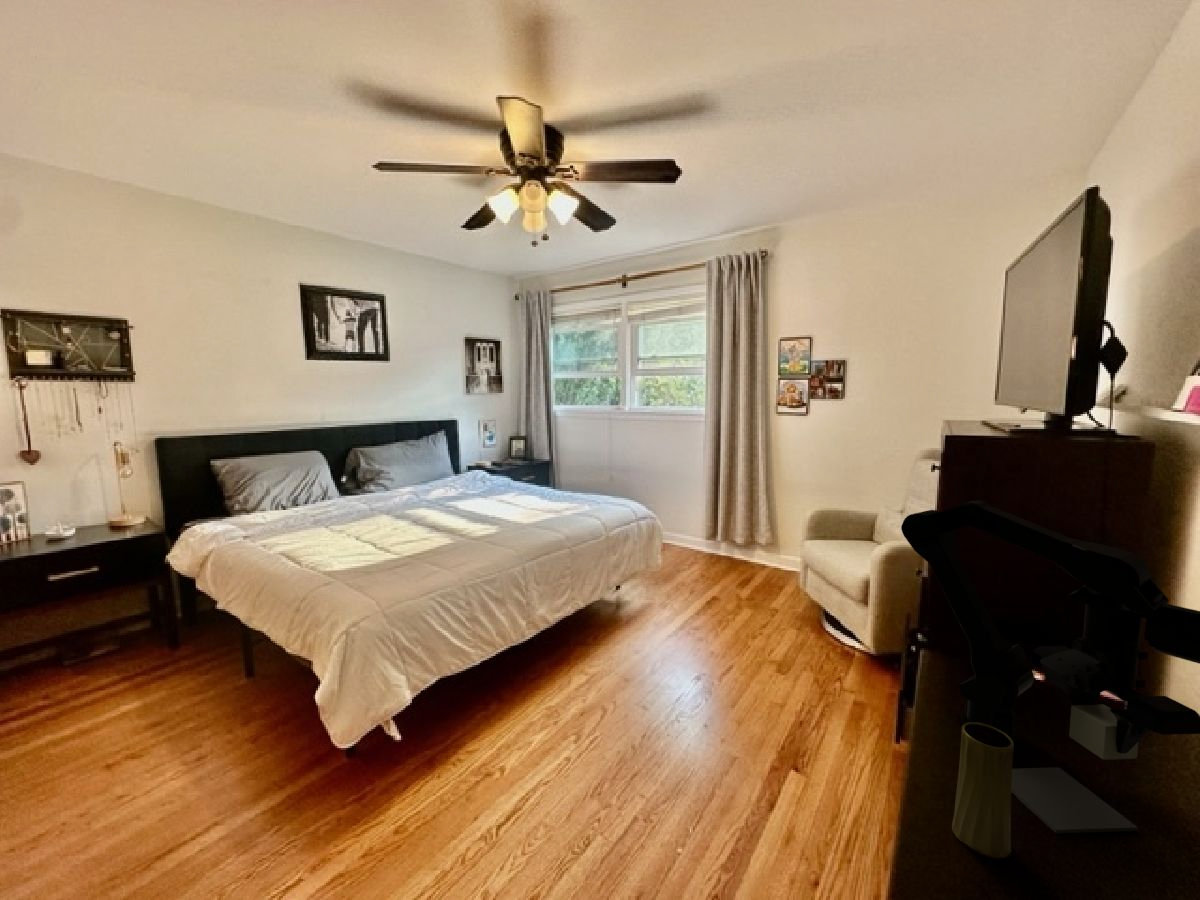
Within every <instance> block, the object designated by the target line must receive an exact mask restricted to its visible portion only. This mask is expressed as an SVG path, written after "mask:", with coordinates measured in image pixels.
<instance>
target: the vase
mask: <svg viewBox="0 0 1200 900" xmlns="http://www.w3.org/2000/svg"><path fill="white" fill-rule="evenodd" d="M1014 745H1015V742H1013V740H1012V739H1011V738H1010V737H1009V736H1008V735H1007V734H1006V733H1004V732H1002V731H1001V730H999V729H997V728H994V727H992V726H989V725H986V724H982V723H974V722H969V723H966V724H964V725H962V727H961V739H960V751H959V753H960V754H959V763H958V764H959V765H958V766H959V767H958V774H957V783H956V791H955V792H956V793H955V802H954V810H953V811H954V812H953V819H952V823H951V829H952V833H953V834H955V835H954V836H955V838H956V839H957V838H958V839H959V840H960V841H962V842H963V843H965V844H967V845H968V846H970V847H971V848H973V849H976V850H978V851H980V852H982V853H984V854H986V855H990V856H993V857H994V856H995V857H998V858H999V857H1001V858H1002V857H1007V856H1008V855H1009V854H1010V853H1011V854H1012V844H1011V843H1012V842H1011V841H1012V840H1011V835H1012V833H1011V832H1012V831H1011V829H1012V827H1011V826H1012V808H1011V807H1012V806H1011V805H1012V793H1011V787H1012V769H1013V758H1014V748H1015V747H1014ZM958 839H957V840H958ZM959 840H958V841H959ZM960 841H959V842H960ZM1011 854H1010V855H1011ZM1010 855H1009V856H1010ZM1009 856H1008V857H1009ZM1008 857H1007V858H1008Z"/></svg>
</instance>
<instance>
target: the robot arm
mask: <svg viewBox="0 0 1200 900" xmlns="http://www.w3.org/2000/svg"><path fill="white" fill-rule="evenodd" d="M902 521H903V522H902V524H901V533H902V535H903V537H904V538H905V540H906V541H907V543H908V544H909V546H911V548H912V549H913V550H914V552H915V553H916V554H918V555H919V556H920V557H921V558H922V559H924V560H925V561H926V562H927V563H928V565H929V566H930V568H931V570H932V572H933V575H934V576H935V578H936V579H937V581H938V583H939V586H940V588H941V590H942V592H943V594H944V595H945V597H946V599H947V601H948V603H949V606H950V608H951V609H952V611H953V614H954V615H955V617H956V619H957V621H958V623H959V625H960V627H961V629H962V630H963V633H964V634H965V636H966V639H967V640H968V642H969V647H970V648H969V649H970V663H971V667H972V670H973V673H974V675H973V676H971V677H969V678H967V679H966V680H964V681H963V682H961V683H960V684H959V685H958V687H959V691H960V694H961V696H962V698H964V699H965V702H964V703H965V707H964V715H962V716H960V715H959V716H956V717H955V719H956V721H957V722H958V723H960V725H962V726H963V725H964V724H966V723H969V722H974V723H982V724H986V725H989V726H992V727H994V728H997V729H999V730H1001V731H1002V732H1004V733H1006V734H1007V735H1008V736H1009V737H1010V738H1011V739H1012V740H1013V743H1021V738H1020V737H1019V735H1016V734H1015V732H1014V727H1015V725H1014V723H1015V717H1014V705H1012V704H1011V701H1013V700H1016V698H1017V697H1019V696H1020V695H1021V694H1023V693H1024V692H1026V691H1027V690H1028V689H1029V688H1031V687H1032V685H1033V683H1034V681H1035V675H1034V672H1033V670H1035V669H1036V667H1037V666H1038V667H1039V668H1041V669H1042V673H1043V675H1044V679H1045V681H1046V682H1047V683H1049V684H1050V685H1053V686H1055V687H1057V688H1058V689H1061V691H1062V692H1064V693H1065V694H1067V696H1068V698H1069V701H1070V704H1071V706H1072V705H1098V703H1099V700H1100V696H1101V693H1102V692H1106V693H1109V694H1110V695H1112V696H1113V697H1116V698H1118V699H1120V700H1121V701H1123V702H1124V705H1123V708H1111V709H1109V710H1110V711H1111V713H1112V714H1113V715H1114V716H1115V717H1116V718H1117V733H1116V747H1117V752H1119V753H1120V754H1125V753H1127V752H1128V751H1129V750H1130V749H1132V748H1133V747H1134V746H1135V745H1136V744H1137V743H1138V744H1139V742H1140V741H1141V740H1142V739H1143V738H1144V737H1145V735H1147V734H1148V733H1149V732H1150V731H1152V732H1153V733H1156V734H1159V735H1163V736H1166V735H1167V736H1169V735H1196V734H1197V735H1200V714H1199V713H1198V711H1196V710H1195V709H1193V708H1191V707H1189V706H1187V705H1184V703H1183V704H1182V703H1181V702H1178V701H1177V700H1174V699H1173V698H1170V697H1168V696H1166V695H1149V696H1148V695H1143V694H1142V693H1140V692H1138V691H1136V689H1137V688H1145V687H1146V680H1145V679H1143V678H1141V677H1140V676H1138V671H1139V670H1138V669H1139V660H1148V655H1149V652H1148V651H1146V650H1143V649H1141V647H1140V646H1141V645H1140V644H1141V636H1142V635H1141V633H1142V625H1143V618H1144V619H1145V620H1146V621H1145V627H1144V633H1143V634H1144V640H1145V642H1148V646H1149V647H1151V648H1154V651H1155V652H1156V653H1159V654H1164V655H1167V656H1171V657H1173V658H1174V657H1175V658H1178V659H1181V660H1185V661H1188V662H1193V663H1197V664H1200V610H1198V609H1194V608H1193V609H1192V608H1187V607H1183V606H1180V605H1173V604H1170V603H1169V602H1170V599H1169V598H1168V596H1166V595H1165V593H1164V592H1163V591H1162V590H1161V588H1160V587H1159V586H1158V585H1157V583H1155V582H1154V581H1153V579H1152V578H1151V571H1150V567H1149V566H1148V564H1147V563H1146V561H1145V559H1144V558H1142V557H1141V556H1140V555H1138V554H1136V553H1134V552H1132V551H1128V550H1124V549H1122V548H1118V547H1113V546H1109V545H1106V544H1101V543H1097V542H1090V541H1085V540H1079V539H1076V538H1071V537H1069V536H1066V535H1064V534H1062V533H1059V532H1056V531H1053V530H1051V529H1049V528H1046V527H1044V526H1042V525H1040V524H1037V523H1034V522H1032V521H1029V520H1026V519H1025V518H1022V517H1019V516H1016V515H1015V514H1012V513H1009V512H1007V511H1005V510H1002V509H1000V508H996V507H995V506H992V505H990V504H989V503H987V502H986V501H984V500H973V501H969V502H965V503H963V504H961V505H959V506H956V507H952V508H949V509H945V510H943V511H942V510H941V511H940V510H938V509H937V510H936V509H929V510H923V511H920V512H915V513H911V514H909V515H907V516H906V517H905V518H904V519H903V520H902ZM968 527H972V528H976V529H978V530H980V531H983V532H985V533H987V534H989V535H992V536H994V537H996V538H998V539H1001V540H1002V541H1005V542H1007V543H1010V544H1012V545H1014V546H1016V547H1018V548H1020V549H1023V550H1025V551H1027V552H1030V553H1032V554H1034V555H1036V556H1039V557H1041V558H1043V559H1045V560H1048V561H1050V562H1052V563H1053V564H1056V565H1057V566H1059V567H1060V568H1061V569H1063V571H1065V572H1066V573H1067V574H1068V575H1070V576H1071V577H1072V578H1073V579H1075V580H1076V581H1078V582H1080V583H1082V586H1081V587H1080V588H1079V589H1077V590H1074V591H1073V592H1071V593H1069V594H1067V596H1066V599H1067V600H1068V601H1071V602H1072V601H1073V602H1077V603H1082V604H1085V608H1084V609H1085V610H1084V623H1083V632H1082V633H1083V635H1082V637H1074V640H1072V646H1071V647H1068V646H1066V645H1043V646H1042V645H1041V646H1040V645H1039V646H1038V647H1036V648H1035V649H1034V650H1033V651H1032V661H1031V662H1032V663H1031V662H1030V659H1028V656H1027V654H1026V652H1025V649H1024V647H1023V645H1022V643H1021V644H1020V643H1018V644H1014V645H1012V644H1010V642H1008V641H1007V640H1006V639H1005V638H1004V637H1003V636H1002V635H1001V634H1000V631H999V630H998V628H997V626H996V625H995V623H994V621H993V619H992V617H991V615H990V613H989V612H988V609H987V607H986V606H985V604H984V602H983V600H982V599H981V596H980V595H979V593H978V591H977V589H976V586H975V585H974V583H973V581H972V580H971V578H970V575H969V574H968V572H967V570H966V568H965V566H964V564H963V563H962V561H961V558H960V557H959V554H958V540H957V535H956V533H955V532H956V531H955V530H959V529H962V528H968ZM1033 664H1034V665H1036V667H1035V666H1034V665H1033Z"/></svg>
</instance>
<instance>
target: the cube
mask: <svg viewBox="0 0 1200 900" xmlns="http://www.w3.org/2000/svg"><path fill="white" fill-rule="evenodd" d="M1109 709H1112V708H1110V706H1108V705H1105V704H1103V703H1102V704H1097V705H1072V704H1071V707H1070V719H1069V735H1068V737H1069V738H1070V739H1072V740H1073V741H1075V742H1076V743H1077V744H1079V745H1081V746H1082V747H1084V748H1085V749H1086V750H1088V751H1090V752H1091V753H1092V754H1094V755H1096V756H1097V757H1099V758H1100V759H1101V760H1108V761H1109V760H1135V759H1138V752H1139V751H1138V750H1139V742H1138V743H1137V744H1136V745H1135V746H1134V747H1133V748H1132V749H1130V750H1129V751H1128V752H1127V753H1125V754H1120V753H1119V752H1117V747H1116V733H1117V718H1116V717H1115V716H1114V715H1113V714H1112V713H1111V711H1110V710H1109Z"/></svg>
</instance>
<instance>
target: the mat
mask: <svg viewBox="0 0 1200 900" xmlns="http://www.w3.org/2000/svg"><path fill="white" fill-rule="evenodd" d="M1012 793H1013V794H1014V795H1015V796H1016V797H1017V800H1018V801H1020V803H1022V804H1023V805H1024V806H1025V807H1026V808H1027V809H1028V810H1030V811H1031V812H1032V814H1034V815H1035V816H1037V818H1039V820H1041V822H1043V824H1045V825H1046V826H1047V827H1049V828H1050V830H1051V831H1052V832H1054V833H1055V834H1077V833H1078V834H1082V833H1083V834H1085V833H1112V832H1137V831H1138V830H1139V829H1138V828H1139V827H1138V826H1137V825H1136V824H1134V823H1133V822H1131V820H1129V819H1127V817H1125V816H1124V815H1122V814H1121V813H1119V812H1118V811H1117V810H1116V809H1114V808H1113V807H1112V806H1111V805H1110V804H1108V803H1107V802H1105V801H1104V800H1102V799H1101V798H1100V797H1099V796H1098V795H1096V794H1095V793H1093V792H1092V791H1091V790H1089V789H1088V787H1085V786H1084V785H1083V784H1082V783H1080V782H1079V781H1078V780H1076V779H1075V778H1073V777H1072V775H1070V774H1069V773H1067V772H1066V771H1065V770H1063V769H1062V768H1061V767H1057V766H1056V767H1023V768H1012V787H1011V794H1012ZM1013 794H1012V795H1013ZM1014 795H1013V796H1014ZM1015 796H1014V797H1015ZM1016 797H1015V798H1016Z"/></svg>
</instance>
